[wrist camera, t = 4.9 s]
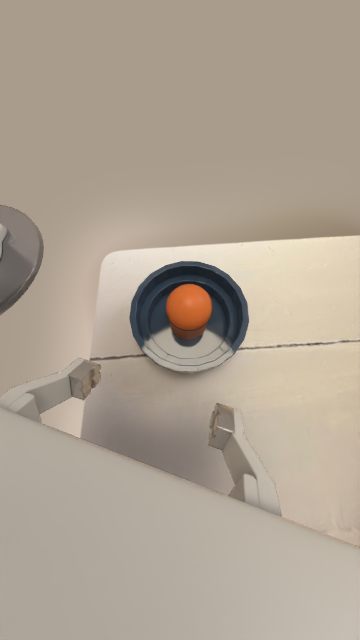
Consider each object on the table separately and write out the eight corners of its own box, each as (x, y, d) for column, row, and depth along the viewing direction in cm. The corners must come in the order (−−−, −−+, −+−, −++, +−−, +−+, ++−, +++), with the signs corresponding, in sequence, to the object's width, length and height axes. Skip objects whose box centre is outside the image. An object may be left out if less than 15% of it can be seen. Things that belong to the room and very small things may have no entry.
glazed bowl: (120, 332, 26) (105, 321, 21) (179, 266, 29) (178, 244, 24) (198, 396, 23) (202, 401, 18) (254, 314, 26) (270, 300, 21)
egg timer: (161, 325, 25) (152, 301, 18) (184, 298, 26) (184, 265, 19) (191, 348, 24) (195, 333, 16) (214, 318, 25) (226, 292, 18)
